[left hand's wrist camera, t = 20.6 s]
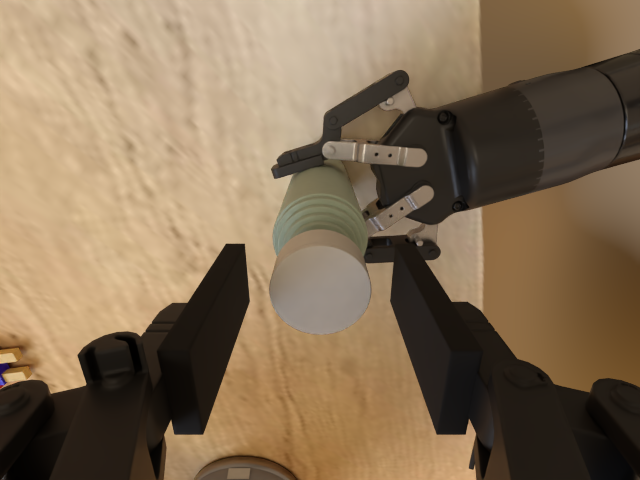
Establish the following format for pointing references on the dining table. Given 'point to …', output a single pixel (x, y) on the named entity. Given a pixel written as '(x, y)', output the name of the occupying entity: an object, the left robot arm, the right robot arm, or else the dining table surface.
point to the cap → (320, 282)
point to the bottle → (320, 206)
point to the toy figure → (3, 373)
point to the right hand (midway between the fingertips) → (287, 207)
